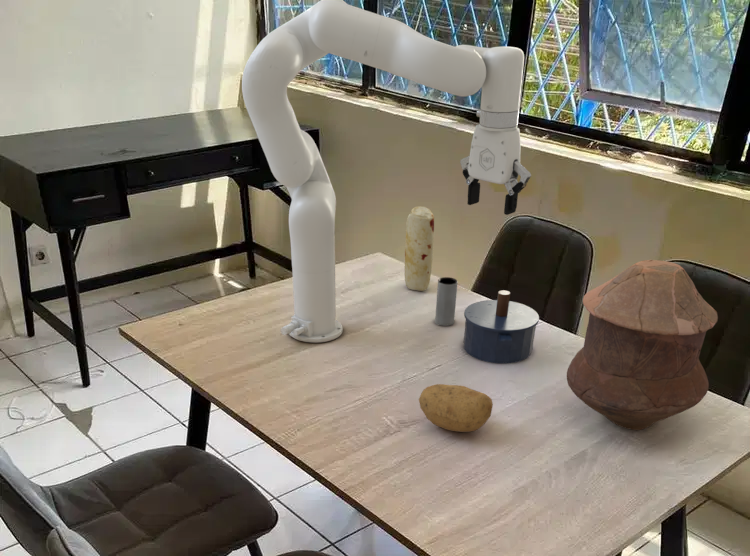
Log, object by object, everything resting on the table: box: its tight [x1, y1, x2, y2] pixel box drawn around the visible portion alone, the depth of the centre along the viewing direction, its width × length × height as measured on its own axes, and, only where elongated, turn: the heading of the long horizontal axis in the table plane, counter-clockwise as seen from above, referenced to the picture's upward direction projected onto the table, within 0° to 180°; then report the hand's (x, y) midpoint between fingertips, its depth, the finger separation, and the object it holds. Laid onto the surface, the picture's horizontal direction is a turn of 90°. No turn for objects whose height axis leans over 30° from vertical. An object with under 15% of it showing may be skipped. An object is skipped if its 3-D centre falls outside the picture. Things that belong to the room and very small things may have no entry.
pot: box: [463, 319, 537, 365], centre depth 172 cm, size 15×21×8 cm
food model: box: [404, 205, 435, 292], centre depth 197 cm, size 10×7×20 cm
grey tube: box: [434, 276, 459, 327], centre depth 182 cm, size 4×4×10 cm
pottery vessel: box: [566, 259, 719, 431], centre depth 142 cm, size 26×26×30 cm
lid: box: [463, 289, 540, 333], centre depth 169 cm, size 16×16×6 cm
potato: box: [418, 383, 494, 433], centre depth 144 cm, size 10×14×8 cm
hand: (491, 208), depth 163 cm, fingers open, 9 cm apart
